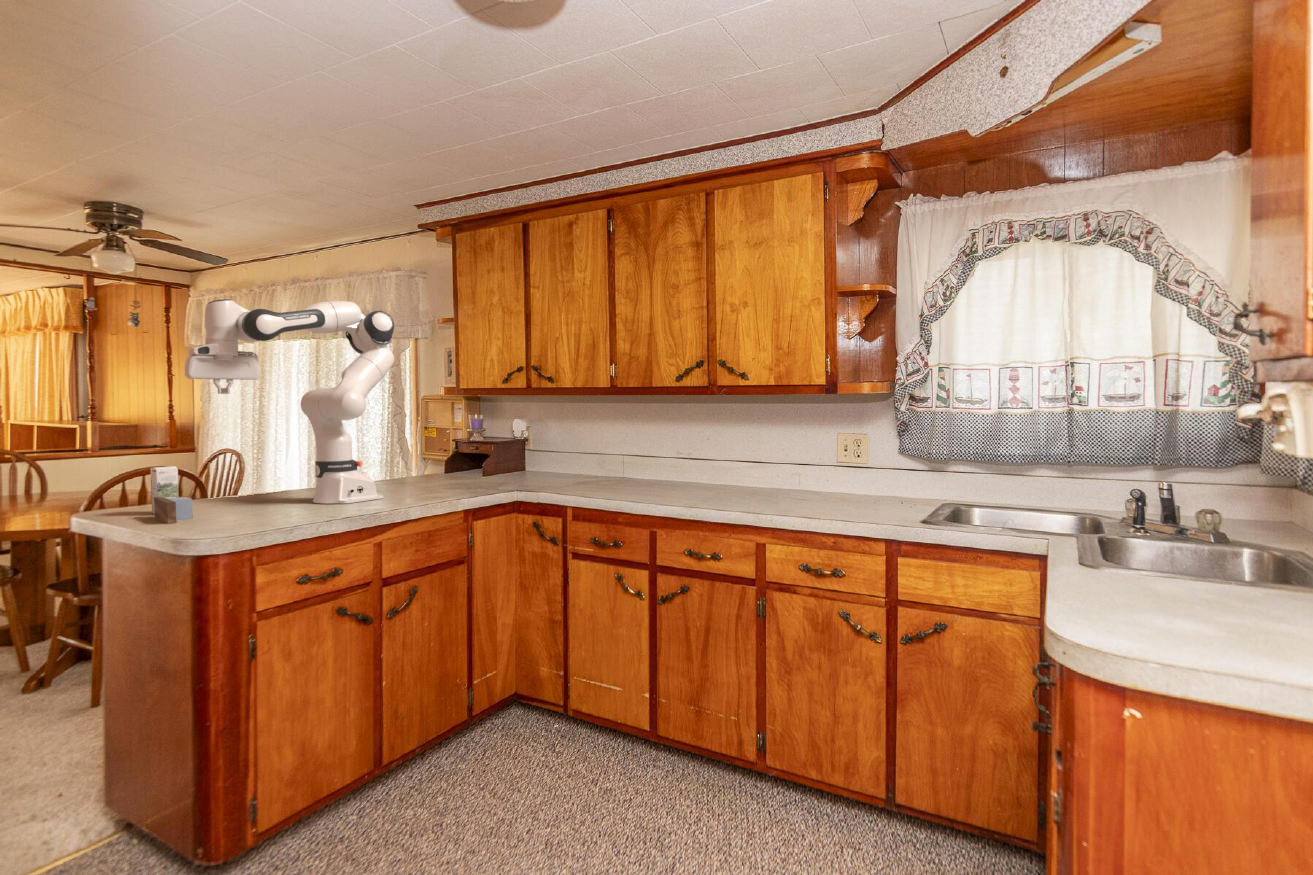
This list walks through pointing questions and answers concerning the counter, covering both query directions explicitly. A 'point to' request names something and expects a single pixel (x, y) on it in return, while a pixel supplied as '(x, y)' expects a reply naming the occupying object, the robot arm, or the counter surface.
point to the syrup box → (164, 483)
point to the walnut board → (165, 509)
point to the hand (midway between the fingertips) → (223, 393)
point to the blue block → (183, 508)
